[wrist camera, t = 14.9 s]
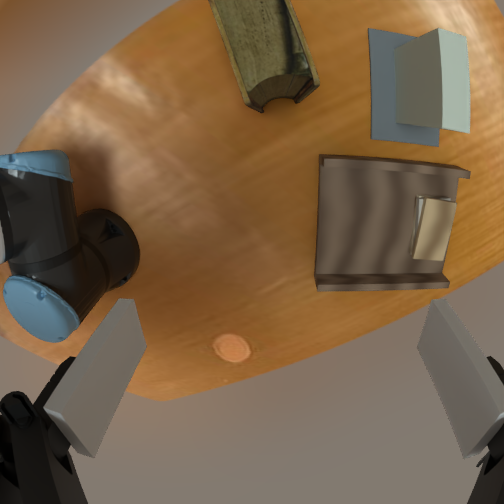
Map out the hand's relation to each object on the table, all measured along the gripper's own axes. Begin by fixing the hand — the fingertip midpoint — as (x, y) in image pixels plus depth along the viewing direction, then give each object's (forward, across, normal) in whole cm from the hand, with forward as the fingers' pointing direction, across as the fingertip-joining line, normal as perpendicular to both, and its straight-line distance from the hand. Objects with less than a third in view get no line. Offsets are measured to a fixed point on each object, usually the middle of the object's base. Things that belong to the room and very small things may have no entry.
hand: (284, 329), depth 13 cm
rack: (+37, +18, -7) cm, 41 cm away
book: (+37, -2, +18) cm, 41 cm away
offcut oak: (+33, +25, -7) cm, 42 cm away
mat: (+37, +20, +15) cm, 44 cm away
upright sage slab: (+36, +20, +15) cm, 44 cm away
